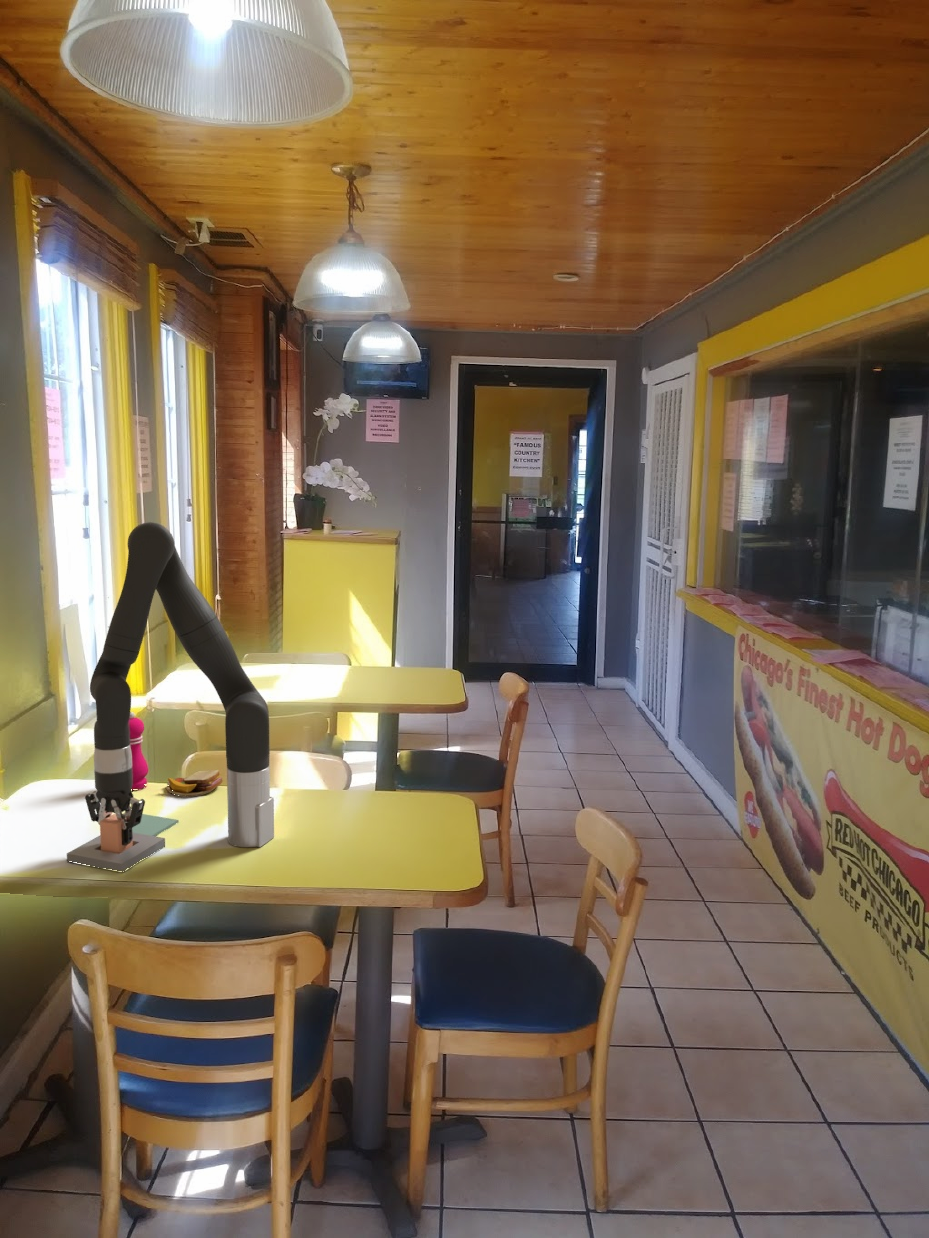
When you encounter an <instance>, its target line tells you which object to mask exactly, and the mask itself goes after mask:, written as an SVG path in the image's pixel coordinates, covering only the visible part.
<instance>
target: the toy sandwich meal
mask: <svg viewBox="0 0 929 1238" xmlns="http://www.w3.org/2000/svg"><path fill="white" fill-rule="evenodd" d="M167 781H168V782H167V783H166V790H167V792H169V793H170V794H171V793H173V794H175V795H174V796H176V795H179V796H178V797H182V796H186V797H185V798H188V797H191V798H193V797H198V796H203V795H204V796H205V795H206V794H209V793H211V792H212V791H214V790H215V788H218V787H219V786H220V785H221V784H222V783H223V777H222V775H221V774H220V770H219V769H214V770H199V771H195V772H194V773H193V774H191V775H189V776H187V777H186V776H185V777H177V778H175V779H173V778H171V777H169V778H168V780H167ZM167 785H169V786H167ZM172 790H173V791H172ZM173 794H172V795H173ZM187 796H188V797H187Z"/></svg>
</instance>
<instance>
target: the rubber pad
mask: <svg viewBox="0 0 929 1238" xmlns="http://www.w3.org/2000/svg"><path fill="white" fill-rule="evenodd" d="M176 823H177V824H178V823H179V819H175V818H171V817H170V818H169V817H163V816H157V815H151V814H145V813H143V814H142V818H141V822H140V824H138V825H136V826H134V827H133V828H132V832H133V833H139V834H145V835H150V836H156V835H157V834H158V835H160V834H161V833H160V832H162V831H163V832H165V831H167V830H168V829H170V828H171V827H174V826H176V825H177V824H176ZM166 829H167V830H166ZM164 830H165V831H164ZM163 832H162V833H163ZM159 833H160V834H159ZM158 835H157V836H158ZM157 836H156V837H157Z"/></svg>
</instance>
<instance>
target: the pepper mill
mask: <svg viewBox="0 0 929 1238" xmlns="http://www.w3.org/2000/svg"><path fill="white" fill-rule="evenodd" d="M135 716H136V714H135V712H134V711H130V718H129V729H130V747H131V752H132V770H133V785H132V788H131V789H132V790H133V789H141V790H143V789H142V788H143V787H145V788H147V786H145V785H144V784H147V785H148V780H147V778H146V776H147V775H148V774H149V766H148V763H147V760H146V758H145V757H144V755H143V752H142V743H143V740H144V739H143V737H144V736H143V735H142V734H143V733H144V731H145V724H144V722H143V720H142V719H140V718H138V717H135Z"/></svg>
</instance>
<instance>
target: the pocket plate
mask: <svg viewBox="0 0 929 1238" xmlns="http://www.w3.org/2000/svg"><path fill="white" fill-rule="evenodd" d="M132 835H133V839H132V840H133V846H132V847H130V848H129V849H127V850H125V851H124V852H122V853H120V854H117V853H112V852H106V851H101V836H100V835H98V836H96V837H94V838H93V839H90V840H89V841H87V842H85V843H84V844H83V843H82V845H80V846H78V847H76V848H74V849H72V850H71V851H69V852H67V853H66V861H67V860H68V861H72V862H77V863H81V864H86V865H90V866H95V867H99V868H106V869H112V870H117V871H122V872H123V871H125V870H126V869H127V868H130V867H131V866H133V865H134V864H136V863H137V862H139V861H140V860H142V859H144V858H146V857H148V856H150V855H151V854H153V853H154V852H156V851H157V850H159V849H161V850H162V849H164V848H166V838H165V837H162V836H150V835H145V834H139V833H133V832H132ZM163 847H164V848H163ZM159 851H160V850H159ZM156 853H157V852H156ZM154 854H155V853H154ZM154 854H153V855H154ZM151 856H152V855H151ZM151 856H150V857H151ZM148 858H149V857H148ZM146 859H147V858H146ZM99 868H98V869H99ZM130 869H131V868H130Z"/></svg>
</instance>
